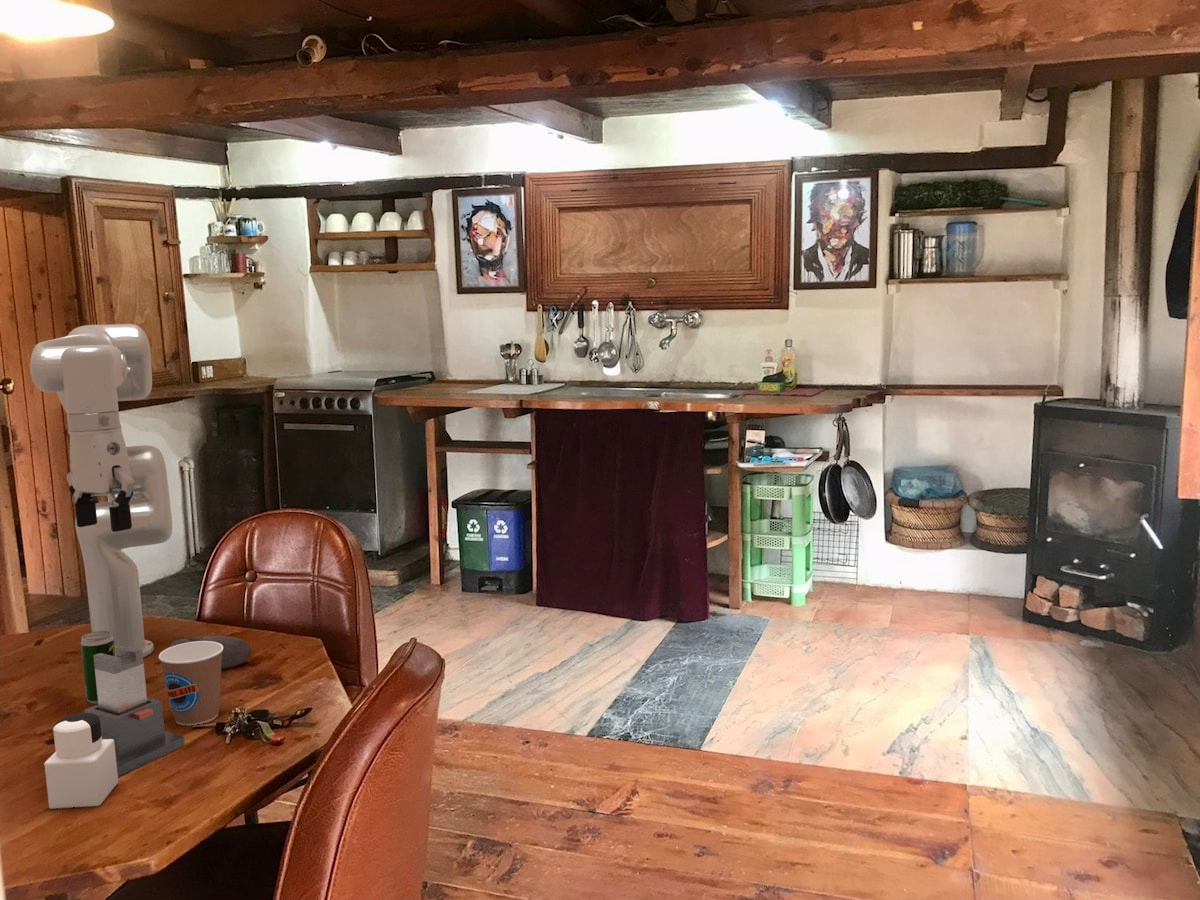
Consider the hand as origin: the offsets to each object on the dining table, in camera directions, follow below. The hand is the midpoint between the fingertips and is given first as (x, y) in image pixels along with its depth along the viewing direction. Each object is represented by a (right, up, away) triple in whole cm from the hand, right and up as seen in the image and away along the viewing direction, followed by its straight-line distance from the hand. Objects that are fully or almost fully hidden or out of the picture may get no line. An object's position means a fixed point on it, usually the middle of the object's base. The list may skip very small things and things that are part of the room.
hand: (104, 527), depth 165 cm
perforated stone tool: (+5, -30, +32) cm, 44 cm away
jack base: (+6, -36, -4) cm, 36 cm away
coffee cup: (+11, -34, +9) cm, 37 cm away
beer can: (-9, -33, +18) cm, 39 cm away
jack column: (+6, -34, -4) cm, 35 cm away
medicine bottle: (+6, -38, -17) cm, 42 cm away
